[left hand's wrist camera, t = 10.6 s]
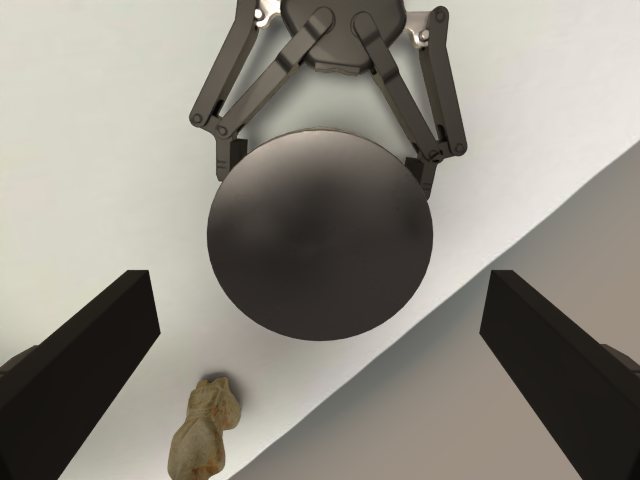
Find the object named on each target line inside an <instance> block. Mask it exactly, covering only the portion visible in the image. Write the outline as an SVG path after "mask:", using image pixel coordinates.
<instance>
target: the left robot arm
mask: <svg viewBox="0 0 640 480" xmlns="http://www.w3.org/2000/svg"><path fill="white" fill-rule="evenodd" d="M479 333H480V335H481V336H482V338H483V339H484V341H485V342H486V343H487V345H488V346H489V348H490V349H491V350H492V352H493V353H494V355H495V356H496V358H497V359H498V360H499V362H500V363H501V365H502V366H503V368H504V369H505V370H506V372H507V373H508V375H509V376H510V377H511V379H512V380H513V382H514V383H515V385H516V386H517V387H518V389H519V390H520V392H521V393H522V394H523V396H524V397H525V399H526V400H527V402H528V403H529V404H530V406H531V407H532V409H533V410H534V412H535V413H536V414H537V416H538V417H539V419H540V420H541V421H542V423H543V424H544V426H545V427H546V428H547V430H548V431H549V433H550V434H551V436H552V437H553V438H554V440H555V441H556V443H557V444H558V445H559V447H560V448H561V450H562V451H563V453H564V454H565V455H566V457H567V458H568V460H569V461H570V463H571V464H572V465H573V467H574V468H575V470H576V471H577V472H578V474H579V475H580V477H581V478H582V480H640V366H639V365H638V364H637V363H636V362H634V361H633V360H632V359H631V358H630V357H628V356H627V355H625V354H623V353H621V352H619V351H617V350H616V349H614V348H612V347H610V346H608V345H606V344H599V343H598V342H597V341H596V340H594V339H593V338H592V337H591V336H590V335H589V334H587V333H586V332H585V331H584V330H583V329H581V328H580V327H579V326H578V325H577V324H576V323H574V322H573V321H572V320H571V319H570V318H568V317H567V316H566V315H565V314H564V313H562V312H561V311H560V310H559V309H558V308H557V307H555V306H554V305H553V304H552V303H551V302H550V301H548V300H547V299H546V298H545V297H544V296H542V295H541V294H540V293H539V292H538V291H536V290H535V289H534V288H533V287H532V286H531V285H529V284H528V283H527V282H526V281H525V280H524V279H522V278H521V277H520V276H519V275H518V274H516V273H515V272H514V271H513V270H491V275H490V280H489V286H488V291H487V296H486V301H485V306H484V312H483V317H482V322H481V327H480V332H479ZM160 334H161V332H160V327H159V322H158V317H157V312H156V306H155V301H154V296H153V291H152V286H151V280H150V275H149V270H127V271H126V272H125V273H124V274H122V275H121V276H120V277H119V278H118V279H116V280H115V281H114V282H113V283H112V284H111V285H109V286H108V287H107V288H106V289H105V290H103V291H102V292H101V293H100V294H99V295H98V296H96V297H95V298H94V299H93V300H92V301H90V302H89V303H88V304H87V305H86V306H85V307H83V308H82V309H81V310H80V311H79V312H77V313H76V314H75V315H74V316H73V317H72V318H70V319H69V320H68V321H67V322H66V323H64V324H63V325H62V326H61V327H60V328H59V329H57V330H56V331H55V332H54V333H53V334H51V335H50V336H49V337H48V338H47V339H46V340H44V341H43V342H42V343H41V344H40V345H34V346H33V347H31V348H29V349H27V350H25V351H23V352H22V353H20V354H18V355H16V356H14V357H12V358H11V359H10V360H9V361H8V362H6V363H5V364H4V365H3V366H1V367H0V480H58V478H59V477H60V475H61V474H62V472H63V471H64V470H65V468H66V467H67V465H68V464H69V463H70V461H71V460H72V458H73V457H74V455H75V454H76V453H77V451H78V450H79V448H80V447H81V446H82V444H83V443H84V441H85V440H86V438H87V437H88V436H89V434H90V433H91V431H92V430H93V429H94V427H95V426H96V424H97V423H98V421H99V420H100V419H101V417H102V416H103V414H104V413H105V412H106V410H107V409H108V407H109V406H110V404H111V403H112V402H113V400H114V399H115V397H116V396H117V394H118V393H119V392H120V390H121V389H122V387H123V386H124V385H125V383H126V382H127V380H128V379H129V377H130V376H131V375H132V373H133V372H134V370H135V369H136V368H137V366H138V365H139V363H140V362H141V360H142V359H143V358H144V356H145V355H146V353H147V352H148V351H149V349H150V348H151V346H152V345H153V343H154V342H155V341H156V339H157V338H158V336H159V335H160Z"/></svg>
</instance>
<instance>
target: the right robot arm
mask: <svg viewBox="0 0 640 480" xmlns="http://www.w3.org/2000/svg"><path fill="white" fill-rule="evenodd" d="M275 16H281V17H282V19H283V21H284V23H285V25H286V27H287V29H288V31H289V33H290V35H291V37H292V39H291V40H290V41H289V42H288V44H287V45H286V46H285V47H284V48H283V49H282V50H281V51H280V53H279V54H278V56H277V57H276V59H275V60H274V61H273V62H272V63H271V65H270V66H269V67H268V68H267V69H266V70H265V71H264V72H263V73H262V75H261V76H260V77H259V78H258V79H257V80H256V81H255V82H254V83H253V85H252V86H251V87H250V88H249V89H248V90H247V91H246V92H245V93H244V95H243V96H242V97H241V98H240V99H239V100H238V101H237V102H236V103H235V105H234V106H233V107H232V108H231V109H230V110H229V111H228V112H227V113H226V115H225V116H224V117H221V116H219V113H220V111H221V109H222V107H223V105H224V103H225V101H226V99H227V97H228V95H229V93H230V91H231V89H232V87H233V85H234V83H235V81H236V79H237V77H238V75H239V73H240V71H241V69H242V67H243V65H244V63H245V61H246V59H247V57H248V55H249V53H250V51H251V49H252V47H253V45H254V43H255V41H256V39H257V36H258V33H259V29H266V28H267V27H268V26H269V25H270V22H271V20H272V19H273V18H274V17H275ZM448 21H449V12H448V10H447V9H446V8H445V7H443V6H438V7H436V8H435V9H434V10H432V11H430V12H406V10H405V7H404V2H403V0H237V8H236V16H235V21H234V23H233V25H232V27H231V29H230V31H229V33H228V35H227V37H226V40H225V42H224V44H223V46H222V48H221V50H220V52H219V54H218V56H217V58H216V60H215V63H214V65H213V67H212V69H211V71H210V73H209V75H208V77H207V79H206V81H205V83H204V86H203V88H202V90H201V92H200V94H199V96H198V98H197V100H196V102H195V104H194V106H193V108H192V111H191V113H190V116H189V120H190V122H191V124H192V125H193V126H195V127H200V128H202V129H204V130H206V131H208V132H210V133H211V134H212V135H213V136H214V137H215V139H216V175H217V178H218V180H219V181H222V182H223V180H224V179H225V177H226V176H227V175H228V173H229V172H230V171H231V170H232V168H233V167H234V166H235V165H236V164H237V163H238V162H239V161H240V160H241V159H242V158H244V157H245V156H246V155H247V141H248V140H247V139H237V135H238V133H239V132H240V131H241V129H242V128H243V127H244V126H245V125H246V124H247V123H248V122H249V121H250V120H251V119H252V118H253V117H254V115H255V114H256V113H257V112H258V111H259V110H260V109H261V108H262V107H263V106H264V105H265V104H266V102H267V101H268V100H269V99H270V98H271V97H272V96H273V95H274V94H275V93H276V92H277V91H278V90H279V88H280V87H281V86H282V85H283V84H284V83H285V82H286V81H287V80H288V79H289V78H290V77H291V76H292V75H293V74H294V73H295V72H296V71H297V70H298V69H299V68H300V67H301V66H302V65H303V64H304V63H306V64H307V65H308V66H309V67H310V68H312V69H314V70H315V71H317V72H325V73H326V72H332V71H338V72H341V73H343V74H345V75H350V76H358V75H361V74H363V73H365V72H367V71H368V70H369V72H370V74H371V76H372V77H373V79H374V81H375V82H376V84H377V85H378V86H379V88H380V89H381V91H382V93H383V95H384V96H385V98H386V100H387V102H388V103H389V105H390V107H391V109H392V110H393V112H394V114H395V116H396V118H397V119H398V121H399V123H400V125H401V126H402V128H403V130H404V132H405V133H406V135H407V137H408V139H409V140H410V142H411V144H412V146H413V148H414V149H415V151H416V153H417V155H418V156H417V159H416V158H409V157H406V161H405V166H406V167H407V168H408V170H409V171H410V172H411V173H412V175H413V176H414V177H415V179H416V180H417V182H418V184H419V185H420V187H421V189H422V191H423V192H424V195H425V198H426V200H428V199H429V197H430V193H431V188H432V184H433V180H434V175H435V171H436V167H437V164H438V163H441V162H442V161H443V159H445V158H448V157H452V156H462V155H463V154H464V153H465V152H466V151H467V141H466V137H465V132H464V127H463V123H462V118H461V114H460V109H459V104H458V100H457V95H456V90H455V86H454V81H453V76H452V72H451V67H450V62H449V58H448V53H447V49H446V40H447V31H448ZM402 32H406V33H408V34H409V36H410V39H411V44H412V46H413V47H415V48H418V49H419V59H420V64H421V68H422V72H423V77H424V81H425V85H426V89H427V93H428V97H429V101H430V106H431V110H432V114H433V118H434V122H435V126H436V130H437V134H438V139H439V140H438V141H436V140H435V138H434V137H433V135H432V133H431V131H430V129H429V127H428V125H427V124H426V122H425V120H424V118H423V116H422V114H421V112H420V111H419V109H418V107H417V105H416V103H415V101H414V100H413V98H412V96H411V94H410V92H409V90H408V88H407V87H406V85H405V83H404V81H403V79H402V77H401V76H400V73H399V69H398V67H397V64H396V63H395V61H394V59H393V57H392V55H391V53H390V52H389V50H388V48H389V47H390V46H391V45H392V44H393V42H394V41H395V40H396V39H397V38H398V37H399V35H400V34H401V33H402Z"/></svg>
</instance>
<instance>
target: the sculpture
mask: <svg viewBox="0 0 640 480" xmlns="http://www.w3.org/2000/svg"><path fill="white" fill-rule="evenodd" d="M228 384H229V381H228V379H227V378H226V377H223V378H216V379H215V380H214V381H213V382H212V383H211V382H210V381H209V380H202V381H199V382H198V384H197V387H196V389H195V390H193V391H192V392H191V394H190V398H189V401H188V406H187V415H186V420H185V423H184V424H183V425H182V426H181V427H180V428H179V430H178V431H177V432H176V433H175V435H174V436H173V439H172V443H171V448H170V453H169V460H168V473H169V476H170V477H171V479H172V480H208V479H209V478H210V477H211V476H213V475H215V474H217V473H219V472H220V471H222V470H223V468H224V466H225V450H224V445H223V439H222V435H223V430H230V429H233V428H235V427H236V426H237V424H238V423H239V420H240V416H241V411H240V407H239V404H238V402H237V400H236V398H235V397H234V395H233V394H232V393H231V391H230V389H229V386H228Z"/></svg>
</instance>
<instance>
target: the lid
mask: <svg viewBox="0 0 640 480" xmlns="http://www.w3.org/2000/svg"><path fill="white" fill-rule="evenodd" d="M432 246H433V226H432V218H431V213H430V209H429V205H428V203H427V200H426V198H425V195H424V192H423V191H422V189H421V187H420V185H419V184H418V182H417V180H416V179H415V177H414V176H413V175H412V173H411V172H410V171H409V170H408V168H407V167H406V166H405V165H404V164H403V163H402V162H401V161H400V160H399V159H398V158H397V157H395V156H394V155H393V154H391V153H390V152H389V151H387V150H386V149H384V148H383V147H382V146H380V145H378V144H377V143H375V142H373V141H371V140H369V139H367V138H365V137H363V136H360V135H357V134H354V133H352V132H348V131H343V130H338V129H330V128H310V129H302V130H297V131H292V132H289V133H286V134H283V135H280V136H277V137H275V138H273V139H271V140H269V141H267V142H265V143H263V144H262V145H260V146H258V147H257V148H256V149H254V150H253V151H251V152H250V153H249V154H247V155H246V156H245V157H244V158H242V159H241V160H240V161H239V162H238V163H237V164H236V165H235V166H234V167H233V168H232V170H231V171H230V172H229V173H228V175H227V176H226V177H225V179H224V180H223V182H222V184H221V185H220V187H219V189H218V191H217V193H216V195H215V198H214V200H213V203H212V205H211V209H210V213H209V218H208V226H207V247H208V252H209V257H210V262H211V265H212V268H213V271H214V273H215V276H216V278H217V280H218V282H219V284H220V286H221V287H222V289H223V290H224V292H225V293H226V295H227V296H228V297H229V299H230V300H231V301H232V302H233V303H234V304H235V306H236V307H237V308H239V309H240V310H241V311H242V312H243V313H244V314H245V315H246V316H248V317H249V318H250V319H252V320H253V321H255V322H256V323H258V324H259V325H261V326H263V327H265V328H267V329H269V330H271V331H273V332H276V333H278V334H281V335H284V336H288V337H291V338H296V339H302V340H310V341H331V340H338V339H344V338H349V337H352V336H356V335H359V334H362V333H364V332H367V331H369V330H371V329H373V328H375V327H377V326H379V325H381V324H382V323H384V322H385V321H387V320H388V319H390V318H391V317H392V316H394V315H395V314H396V313H397V312H398V311H399V310H400V309H402V308H403V307H404V305H405V304H406V303H407V302H408V301H409V300H410V299H411V298H412V296H413V295H414V293H415V292H416V290H417V289H418V287H419V286H420V284H421V282H422V280H423V278H424V276H425V273H426V271H427V268H428V265H429V262H430V257H431V252H432Z"/></svg>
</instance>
